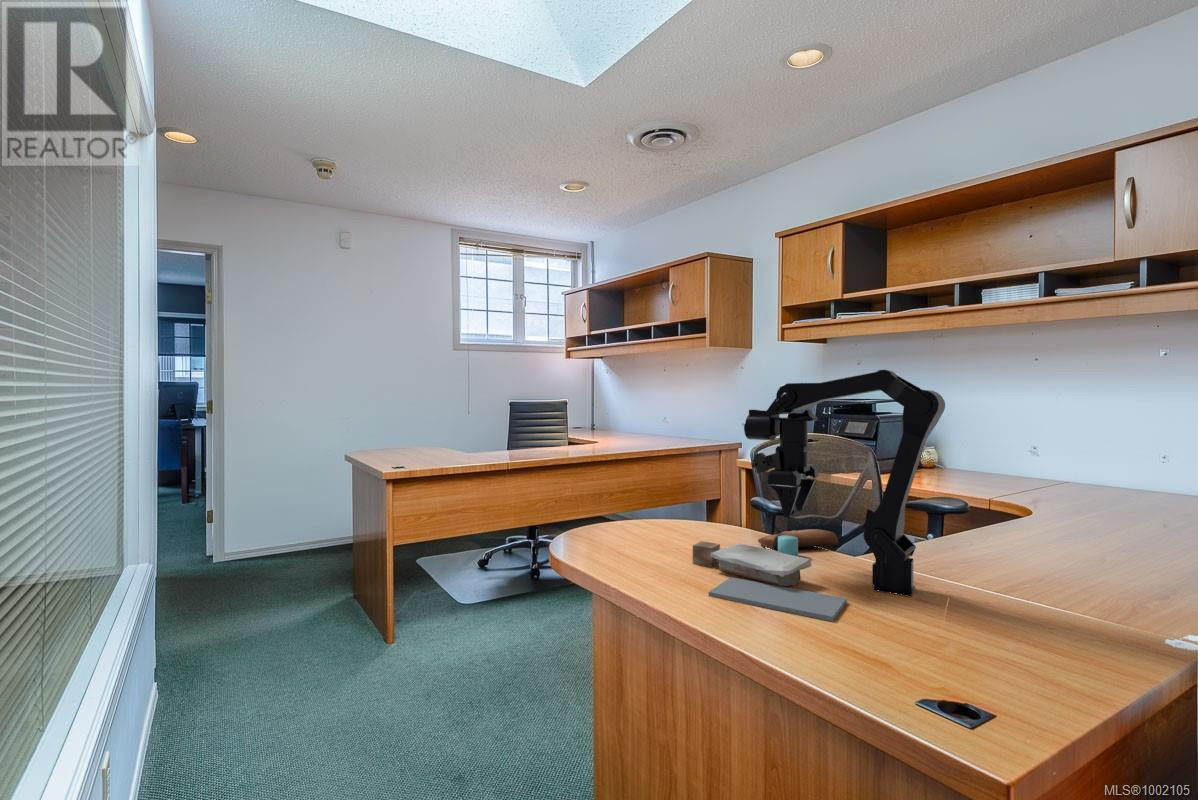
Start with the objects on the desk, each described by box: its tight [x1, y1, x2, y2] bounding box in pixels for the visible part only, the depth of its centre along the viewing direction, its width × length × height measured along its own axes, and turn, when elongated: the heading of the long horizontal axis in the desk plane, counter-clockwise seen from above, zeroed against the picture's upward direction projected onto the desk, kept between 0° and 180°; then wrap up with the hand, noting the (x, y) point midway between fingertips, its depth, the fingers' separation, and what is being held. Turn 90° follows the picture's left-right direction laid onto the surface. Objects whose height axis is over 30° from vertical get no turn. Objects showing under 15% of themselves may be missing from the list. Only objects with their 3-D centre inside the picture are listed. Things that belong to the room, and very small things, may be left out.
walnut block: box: [692, 540, 721, 568], centre depth 131 cm, size 4×4×4 cm
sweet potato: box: [757, 528, 839, 551], centre depth 145 cm, size 18×7×7 cm
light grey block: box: [710, 542, 812, 587], centre depth 121 cm, size 18×5×10 cm
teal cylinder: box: [778, 536, 799, 557], centre depth 137 cm, size 4×4×4 cm
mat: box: [708, 576, 848, 622], centre depth 108 cm, size 22×11×1 cm, turn 56°
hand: (793, 513), depth 127 cm, fingers open, 9 cm apart
